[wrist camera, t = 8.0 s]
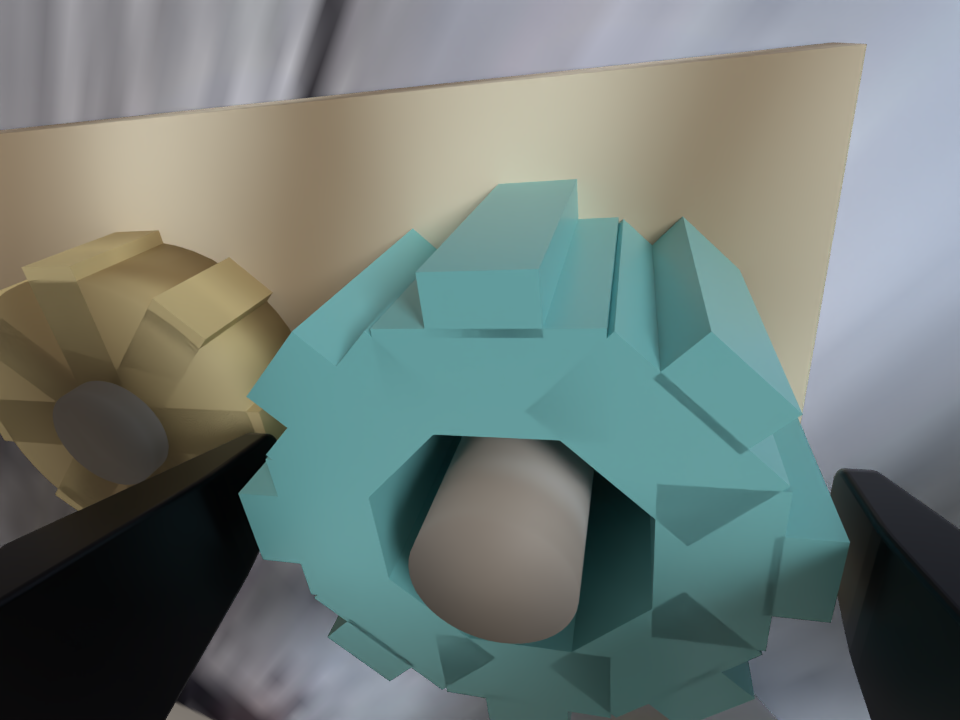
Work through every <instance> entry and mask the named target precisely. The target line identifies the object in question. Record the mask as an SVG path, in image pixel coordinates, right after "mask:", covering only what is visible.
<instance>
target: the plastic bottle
mask: <svg viewBox="0 0 960 720" xmlns="http://www.w3.org/2000/svg"><path fill="white" fill-rule="evenodd" d="M754 697H755V699H754V700H751V701H748V702H746V703H743V704H741V705H738V706H736V707H733V708H730V709H728V710H725V711H723V712H720V713H718V714H715V715H713V716H710V717H707V718H705V719H702V720H778V719H777V718H776V717H775V716H774V715H773V714H772V713H771V712H770V710H769V709H768V708H767V707H766V706H765V705H764V704H763V703H762V702H761V701H760V699H759V698H758V697H757V696H756V695H754ZM571 720H669V719H668V718H667V717H665V716H664V715H663V714H661V713H660V712H659V711H657V710H656V709H655V708H653V707H652V706H651V705H650V704H647V705H645V706H642V707H640V708H638V709H635V710H633V711H631V712H628V713H626V714H624V715H621V716H619V717H617V718H616V717H615V716H613V715H612V714H611V718H607V717H600V716H594V715H588V714H582V713H576V712H572V714H571Z"/></svg>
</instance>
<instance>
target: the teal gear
mask: <svg viewBox="0 0 960 720" xmlns="http://www.w3.org/2000/svg"><path fill="white" fill-rule="evenodd" d="M246 397H247V398H249V399H250V400H251V401H253V402H254V403H255V404H257V405H258V406H259V407H261V408H262V409H263V410H264V411H266V412H267V413H268V414H270V415H271V416H272V417H274V418H275V419H276V420H278V421H279V422H280V423H282V424H283V425H284V426H285V427H287V429H286V430H285V432H284V433H283V434H282V435H281V437H280V438H279V439H278V440H277V442H276V443H275V444H274V445H273V447H272V448H271V449H270V450H269V452H268V453H267V454H266V455H267V456H268V457H267V458H266V459H265V460H266V462H265V463H264V465H263V466H262V467H261V468H260V469H259V470H258V471H257V473H256V474H255V475H254V476H253V477H252V478H251V479H250V481H249V482H248V483H247V484H246V485H245V486H244V487H243V489H242V490H241V491H240V492H239V493H238V494H239V497H240V500H241V502H242V505H243V508H244V510H245V513H246V515H247V518H248V521H249V523H250V526H251V529H252V531H253V534H254V537H255V539H256V542H257V545H258V547H259V550H260V553H261V555H262V558H263V560H272V561H281V562H290V563H299V564H301V566H302V569H303V572H304V574H305V577H306V580H307V583H308V586H309V589H310V592H311V594H315V595H316V596H315V597H314V598H315V599H317V600H318V601H319V602H321V603H322V604H324V605H325V606H326V607H328V608H329V609H330V610H332V611H333V612H335V613H336V614H337V615H339V616H338V618H337V620H336V622H335V624H334V626H333V627H332V629H331V631H330V633H329V635H328V638H329V639H331V640H332V641H334V642H335V643H336V644H338V645H339V646H341V647H342V648H344V649H345V650H346V651H348V652H349V653H351V654H352V655H353V656H355V657H356V658H358V659H359V660H360V661H362V662H363V663H365V664H366V665H367V666H369V667H370V668H372V669H373V670H375V671H376V672H377V673H379V674H380V675H382V676H383V677H384V678H386V679H387V680H389V681H391V680H393V679H394V678H396V677H397V676H399V675H400V674H402V673H403V672H405V671H406V670H408V669H410V668H413V669H414V670H415V671H417V672H418V673H420V674H421V675H422V676H424V677H425V678H427V679H428V680H429V681H431V682H432V683H434V684H435V685H436V686H438V687H439V688H441V689H442V690H443V689H444V688H446V689H447V692H452V693H458V694H464V695H470V696H477V697H483V698H486V701H487V707H488V713H489V719H490V720H571V714H572V712H576V713H582V714H588V715H594V716H600V717H607V718H611V714H612V715H613V716H615V717H616V718H617V717H619V716H621V715H624V714H626V713H628V712H631V711H633V710H635V709H638V708H640V707H642V706H645V705H647V704H650V705H651V706H652V707H653V708H655V709H656V710H657V711H659V712H660V713H661V714H663V715H664V716H665V717H667V718H668V719H669V720H702V719H705V718H707V717H710V716H713V715H715V714H718V713H720V712H723V711H725V710H728V709H730V708H733V707H736V706H738V705H741V704H743V703H746V702H748V701H751V700H754V699H755V697H754V691H753V686H752V680H751V674H750V669H749V663H748V661H749V660H751V659H753V658H756V657H758V656H760V655H762V651H766V647H767V641H768V635H769V629H770V623H771V618H772V616H775V617H784V618H793V619H801V620H810V621H819V622H828V623H831V620H832V616H833V611H834V607H835V603H836V599H837V595H838V591H839V586H840V582H841V578H842V574H843V570H844V566H845V561H846V557H847V553H848V549H849V545H850V541H849V539H848V536H847V534H846V532H845V529H844V527H843V524H842V522H841V520H840V517H839V515H838V513H837V510H836V508H835V505H834V503H833V501H832V498H831V496H830V493H829V491H828V489H827V486H826V484H825V481H824V479H823V477H822V474H821V472H820V470H819V467H818V465H817V462H816V460H815V458H814V455H813V453H812V450H811V448H810V446H809V443H808V441H807V438H806V436H805V434H804V431H803V429H802V427H801V424H800V422H799V419H798V417H800V416H801V415H803V414H802V412H801V409H800V407H799V405H798V402H797V400H796V398H795V396H794V393H793V391H792V389H791V386H790V384H789V382H788V380H787V377H786V375H785V373H784V370H783V368H782V366H781V363H780V361H779V359H778V357H777V354H776V352H775V350H774V347H773V345H772V343H771V340H770V338H769V336H768V334H767V331H766V329H765V327H764V324H763V322H762V320H761V317H760V315H759V313H758V311H757V308H756V306H755V304H754V301H753V299H752V297H751V295H750V292H749V290H748V288H747V285H746V283H745V281H744V278H743V276H742V274H741V272H740V270H739V269H738V268H737V267H736V266H735V265H734V264H733V263H732V262H731V261H730V260H729V259H728V258H727V257H726V256H724V255H723V254H722V253H721V252H720V251H719V250H718V249H717V248H716V247H715V246H714V245H713V244H712V243H711V242H710V241H709V240H707V239H706V238H705V237H704V236H703V235H702V234H701V233H700V232H699V231H698V230H697V229H696V228H695V227H694V226H693V225H692V224H690V223H689V222H688V221H687V220H686V219H685V218H684V217H682V218H681V219H679V220H678V221H677V222H676V223H675V224H674V225H673V226H672V227H671V228H670V229H669V230H668V231H667V232H666V233H665V234H664V235H663V236H661V237H660V238H659V239H658V240H657V241H656V242H655V243H654V244H653V245H651V244H650V243H649V242H648V241H647V240H646V239H645V238H644V237H643V236H641V235H640V234H639V233H638V232H637V231H636V230H635V229H634V228H633V227H632V226H631V225H630V224H628V223H627V222H626V221H625V220H624V219H623V220H622V221H621V222H620V223H619V217H612V218H590V219H578V192H577V179H570V180H554V181H538V182H522V183H506V184H498V185H497V186H496V187H495V188H494V189H493V190H492V191H491V193H490V194H489V195H488V196H487V197H486V198H485V199H484V200H483V201H482V202H481V203H480V204H479V205H478V206H477V207H476V208H475V210H474V211H473V212H472V213H471V214H470V215H469V216H468V217H467V218H466V219H465V220H464V221H463V222H462V223H461V224H460V225H459V227H458V228H457V229H456V230H455V231H454V232H453V233H452V234H451V235H450V236H449V237H448V238H447V239H446V240H445V241H444V242H443V243H442V245H441V246H440V247H439V248H438V249H436V248H435V247H434V246H433V245H431V244H430V243H429V242H428V241H427V240H426V239H424V238H423V237H422V236H421V235H420V234H419V233H418V232H416V231H415V230H414V229H411V230H410V231H409V232H408V233H407V234H406V235H404V236H403V237H402V238H401V239H400V240H398V241H397V242H396V243H395V244H394V245H393V246H391V247H390V248H389V249H388V250H387V251H386V252H384V253H383V254H382V255H381V256H380V257H379V258H377V259H376V260H375V261H374V262H373V263H372V264H370V265H369V266H368V267H367V268H366V269H365V270H363V271H362V272H361V273H360V274H359V275H358V276H356V277H355V278H354V279H353V280H352V281H351V282H349V283H348V284H347V285H346V286H345V287H343V288H342V289H341V290H340V291H339V292H338V293H336V294H335V295H334V296H333V297H332V298H331V299H329V300H328V301H327V302H326V303H325V304H324V305H322V306H321V307H320V308H319V309H318V310H317V311H315V312H314V313H313V314H312V315H311V316H310V317H308V318H307V319H306V320H305V321H304V322H303V323H301V324H300V325H299V326H298V327H297V328H296V329H294V330H293V331H292V332H291V334H290V335H289V336H288V338H287V339H286V341H285V342H284V344H283V345H282V346H281V348H280V349H279V351H278V352H277V354H276V355H275V356H274V358H273V359H272V361H271V362H270V364H269V365H268V366H267V368H266V369H265V371H264V372H263V374H262V375H261V376H260V378H259V379H258V381H257V382H256V384H255V385H254V386H253V388H252V389H251V391H250V392H249V394H248V395H247V396H246ZM462 436H475V437H497V438H518V439H540V440H560V441H561V442H562V443H564V444H565V445H566V446H567V447H568V448H570V449H571V450H572V451H573V452H574V453H576V454H577V455H578V456H579V457H580V458H582V459H583V460H584V461H585V462H587V463H588V464H589V465H590V466H591V467H593V468H594V474H593V483H592V492H591V500H590V509H589V518H588V526H587V535H586V544H585V552H584V561H583V570H582V578H581V587H580V596H579V604H578V608H577V611H576V613H575V615H574V617H573V619H572V620H571V622H570V623H569V624H568V625H567V626H566V627H565V628H564V629H563V630H562V631H560V632H559V633H557V634H556V635H553V636H551V637H549V638H547V639H544V640H540V641H536V642H531V643H522V644H509V643H499V642H494V641H488V640H485V639H481V638H478V637H475V636H472V635H470V634H467V633H465V632H463V631H461V630H458V629H457V628H455V627H453V626H451V625H450V624H448V623H447V622H445V621H444V620H442V619H441V618H440V617H438V616H437V615H436V614H435V613H434V612H432V611H431V610H430V609H429V608H428V607H427V606H426V604H425V603H424V602H423V601H422V599H421V598H420V597H419V595H418V594H417V592H416V590H415V588H414V586H413V584H412V581H411V578H410V575H409V568H408V563H409V555H410V551H411V549H412V547H413V545H414V542H415V540H416V538H417V536H418V534H419V531H420V529H421V527H422V525H423V523H424V520H425V518H426V516H427V514H428V512H429V509H430V507H431V505H432V503H433V500H434V498H435V496H436V494H437V492H438V489H439V487H440V485H441V483H442V481H443V478H444V476H445V474H446V472H447V469H448V467H449V465H450V463H451V461H452V458H453V456H454V454H455V452H456V450H457V447H458V445H459V443H460V441H461V439H462ZM761 650H762V651H761Z"/></svg>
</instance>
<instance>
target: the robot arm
mask: <svg viewBox="0 0 960 720" xmlns="http://www.w3.org/2000/svg"><path fill="white" fill-rule="evenodd" d="M276 442H277V439H276V438H275V437H274V436H273V435H271V434H266V433H247V434H244V435H242V436H240V437H237V438H235V439H233V440H231V441H229V442H227V443H224V444H222V445H220V446H218V447H216V448H214V449H211V450H209V451H207V452H205V453H203V454H201V455H198V456H196V457H194V458H192V459H190V460H187V461H185V462H183V463H181V464H179V465H177V466H174V467H172V468H170V469H168V470H166V471H164V472H161V473H159V474H157V475H155V476H153V477H151V478H148V479H146V480H144V481H142V482H140V483H138V484H135V485H133V486H131V487H129V488H127V489H125V490H122V491H120V492H118V493H116V494H114V495H111V496H109V497H107V498H105V499H103V500H101V501H98V502H96V503H94V504H92V505H90V506H88V507H85V508H83V509H81V510H79V511H77V512H75V513H72V514H70V515H68V516H66V517H64V518H62V519H59V520H57V521H55V522H53V523H51V524H48V525H46V526H44V527H42V528H40V529H38V530H35V531H33V532H31V533H29V534H27V535H25V536H22V537H20V538H18V539H16V540H14V541H12V542H9V543H7V544H5V545H4V546H2V548H1V549H0V720H166V718H167V716H168V714H169V713H170V711H171V709H172V707H173V706H174V704H175V702H176V701H177V699H178V697H179V695H180V694H181V692H182V690H183V688H184V687H185V685H186V683H187V681H188V680H189V678H190V676H191V674H192V673H193V671H194V669H195V667H196V666H197V664H198V662H199V660H200V659H201V657H202V655H203V653H204V652H205V650H206V648H207V646H208V645H209V643H210V641H211V639H212V638H213V636H214V634H215V632H216V631H217V629H218V627H219V626H220V624H221V622H222V620H223V619H224V617H225V615H226V613H227V612H228V610H229V608H230V606H231V605H232V603H233V601H234V599H235V598H236V596H237V594H238V592H239V591H240V589H241V587H242V585H243V583H244V582H245V580H246V578H247V576H248V574H249V572H250V570H251V568H252V566H253V564H254V562H255V560H256V558H257V555H258V553H259V551H260V550H259V547H258V545H257V542H256V539H255V537H254V534H253V531H252V529H251V526H250V523H249V521H248V518H247V515H246V513H245V510H244V508H243V505H242V502H241V500H240V497H239V494H238V493H239V492H240V491H241V490H242V489H243V487H244V486H245V485H246V484H247V483H248V482H249V481H250V479H251V478H252V477H253V476H254V475H255V474H256V473H257V471H258V470H259V469H260V468H261V467H262V466H263V465H264V463H265V462H266V460H265V459H266V458H267V457H268V456H267V455H266V454H267V453H268V452H269V450H270V449H271V448H272V447H273V445H274V444H275V443H276ZM830 496H831V498H832V501H833V503H834V505H835V508H836V510H837V513H838V515H839V517H840V520H841V522H842V524H843V527H844V529H845V532H846V534H847V536H848V539H849V541H850V545H849V549H848V553H847V557H846V561H845V566H844V570H843V574H842V578H841V582H840V586H839V591H838V595H837V596H838V601H839V606H840V611H841V616H842V621H843V626H844V630H845V635H846V640H847V644H848V648H849V653H850V656H851V659H852V663H853V666H854V669H855V673H856V676H857V679H858V682H859V685H860V688H861V691H862V694H863V697H864V700H865V703H866V706H867V709H868V712H869V715H870V718H871V720H960V529H958V528H957V527H956V526H954V525H953V524H951V523H950V522H949V521H947V520H946V519H944V518H943V517H941V516H940V515H939V514H937V513H936V512H934V511H933V510H932V509H930V508H929V507H927V506H926V505H925V504H923V503H922V502H920V501H919V500H917V499H916V498H915V497H913V496H912V495H910V494H909V493H908V492H906V491H905V490H903V489H902V488H900V487H899V486H898V485H896V484H895V483H893V482H892V481H891V480H889V479H888V478H886V477H885V476H884V475H882V474H880V473H879V472H877V471H874V470H863V469H846V468H844V469H840V470H839V471H837V473H836V475H835V476H834V480H833V485H832V489H831V494H830Z"/></svg>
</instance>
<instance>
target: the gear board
mask: <svg viewBox="0 0 960 720" xmlns="http://www.w3.org/2000/svg"><path fill="white" fill-rule="evenodd" d="M866 46H867V44H855V43H824V44H815V45H805V46H796V47H786V48H777V49H767V50H758V51H748V52H739V53H730V54H720V55H711V56H701V57H692V58H682V59H673V60H663V61H654V62H644V63H635V64H625V65H616V66H606V67H597V68H587V69H578V70H568V71H559V72H549V73H540V74H530V75H521V76H511V77H502V78H492V79H483V80H473V81H464V82H455V83H445V84H436V85H426V86H417V87H407V88H398V89H388V90H379V91H369V92H360V93H350V94H341V95H331V96H322V97H312V98H303V99H293V100H284V101H274V102H265V103H255V104H246V105H236V106H227V107H217V108H208V109H199V110H189V111H180V112H170V113H161V114H151V115H142V116H132V117H123V118H113V119H104V120H94V121H85V122H75V123H66V124H56V125H47V126H37V127H28V128H18V129H9V130H0V433H1V435H2V437H3V439H4V440H5V441H14V442H15V443H16V445H17V446H18V447H19V449H20V450H21V451H22V453H23V454H24V455H25V456H26V457H27V458H28V459H29V461H30V462H31V463H32V464H33V465H34V466H35V467H36V468H37V469H38V470H39V471H40V472H41V473H42V474H43V475H44V476H45V477H46V478H47V479H48V480H49V481H50V482H51V483H52V484H53V485H54V486H55V487H57V488H58V490H57V492H56V494H55V495H56V496H58V497H59V498H61V499H62V500H63V501H65V502H66V503H68V504H69V505H70V506H72V507H73V508H75V509H76V510H78V511H79V510H81V509H83V508H85V507H88V506H90V505H92V504H94V503H96V502H98V501H101V500H103V499H105V498H107V497H109V496H111V495H114V494H116V493H118V492H120V491H122V490H125V489H127V488H129V487H131V486H133V485H135V484H138V483H140V482H142V481H144V480H146V479H148V478H151V477H153V476H155V475H157V474H159V473H161V472H164V471H166V470H168V469H170V468H172V467H174V466H177V465H179V464H181V463H183V462H185V461H187V460H190V459H192V458H194V457H196V456H198V455H201V454H203V453H205V452H207V451H209V450H211V449H214V448H216V447H218V446H220V445H222V444H224V443H227V442H229V441H231V440H233V439H235V438H237V437H240V436H242V435H244V434H247V433H266V434H271V435H273V436H274V437H275V438H276V439H277V440H278V439H279V438H280V437H281V435H282V434H283V433H284V432H285V430H286V429H287V427H285V426H284V425H283V424H282V423H280V422H279V421H278V420H276V419H275V418H274V417H272V416H271V415H270V414H268V413H267V412H266V411H264V410H263V409H262V408H261V407H259V406H258V405H257V404H255V403H254V402H253V401H251V400H250V399H249V398H247V397H246V396H247V395H248V394H249V392H250V391H251V389H252V388H253V386H254V385H255V384H256V382H257V381H258V379H259V378H260V376H261V375H262V374H263V372H264V371H265V369H266V368H267V366H268V365H269V364H270V362H271V361H272V359H273V358H274V356H275V355H276V354H277V352H278V351H279V349H280V348H281V346H282V345H283V344H284V342H285V341H286V339H287V338H288V336H289V335H290V334H291V332H292V331H293V330H294V329H296V328H297V327H298V326H299V325H300V324H301V323H303V322H304V321H305V320H306V319H307V318H308V317H310V316H311V315H312V314H313V313H314V312H315V311H317V310H318V309H319V308H320V307H321V306H322V305H324V304H325V303H326V302H327V301H328V300H329V299H331V298H332V297H333V296H334V295H335V294H336V293H338V292H339V291H340V290H341V289H342V288H343V287H345V286H346V285H347V284H348V283H349V282H351V281H352V280H353V279H354V278H355V277H356V276H358V275H359V274H360V273H361V272H362V271H363V270H365V269H366V268H367V267H368V266H369V265H370V264H372V263H373V262H374V261H375V260H376V259H377V258H379V257H380V256H381V255H382V254H383V253H384V252H386V251H387V250H388V249H389V248H390V247H391V246H393V245H394V244H395V243H396V242H397V241H398V240H400V239H401V238H402V237H403V236H404V235H406V234H407V233H408V232H409V231H410V230H411V229H414V230H415V231H416V232H418V233H419V234H420V235H421V236H422V237H423V238H424V239H426V240H427V241H428V242H429V243H430V244H431V245H433V246H434V247H435V248H436V249H438V248H439V247H440V246H441V245H442V243H443V242H444V241H445V240H446V239H447V238H448V237H449V236H450V235H451V234H452V233H453V232H454V231H455V230H456V229H457V228H458V227H459V225H460V224H461V223H462V222H463V221H464V220H465V219H466V218H467V217H468V216H469V215H470V214H471V213H472V212H473V211H474V210H475V208H476V207H477V206H478V205H479V204H480V203H481V202H482V201H483V200H484V199H485V198H486V197H487V196H488V195H489V194H490V193H491V191H492V190H493V189H494V188H495V187H496V186H497V185H498V184H506V183H522V182H538V181H554V180H570V179H577V192H578V219H590V218H612V217H619V223H620V222H621V221H622V220H623V219H624V220H625V221H626V222H627V223H628V224H630V225H631V226H632V227H633V228H634V229H635V230H636V231H637V232H638V233H639V234H640V235H641V236H643V237H644V238H645V239H646V240H647V241H648V242H649V243H650V244H651V245H653V244H654V243H655V242H656V241H657V240H658V239H659V238H660V237H661V236H663V235H664V234H665V233H666V232H667V231H668V230H669V229H670V228H671V227H672V226H673V225H674V224H675V223H676V222H677V221H678V220H679V219H681V218H682V217H684V218H685V219H686V220H687V221H688V222H689V223H690V224H692V225H693V226H694V227H695V228H696V229H697V230H698V231H699V232H700V233H701V234H702V235H703V236H704V237H705V238H706V239H707V240H709V241H710V242H711V243H712V244H713V245H714V246H715V247H716V248H717V249H718V250H719V251H720V252H721V253H722V254H723V255H724V256H726V257H727V258H728V259H729V260H730V261H731V262H732V263H733V264H734V265H735V266H736V267H737V268H738V269H739V270H740V272H741V274H742V276H743V278H744V281H745V283H746V285H747V288H748V290H749V292H750V295H751V297H752V299H753V301H754V304H755V306H756V308H757V311H758V313H759V315H760V317H761V320H762V322H763V324H764V327H765V329H766V331H767V334H768V336H769V338H770V340H771V343H772V345H773V347H774V350H775V352H776V354H777V357H778V359H779V361H780V363H781V366H782V368H783V370H784V373H785V375H786V377H787V380H788V382H789V384H790V386H791V389H792V391H793V393H794V396H795V398H796V400H797V402H798V405H799V407H800V409H801V412H803V407H804V401H805V395H806V389H807V384H808V378H809V372H810V366H811V361H812V355H813V349H814V344H815V338H816V332H817V326H818V321H819V315H820V309H821V303H822V298H823V292H824V286H825V281H826V275H827V269H828V263H829V258H830V252H831V246H832V240H833V235H834V229H835V223H836V217H837V212H838V206H839V200H840V195H841V189H842V183H843V177H844V172H845V166H846V160H847V154H848V149H849V143H850V137H851V132H852V126H853V120H854V114H855V109H856V103H857V97H858V91H859V86H860V80H861V74H862V69H863V63H864V57H865V51H866ZM801 418H802V415H801V416H800V417H798V419H799V422H800V424H801ZM593 474H594V468H593V467H591V466H590V465H589V464H588V463H587V462H585V461H584V460H583V459H582V458H580V457H579V456H578V455H577V454H576V453H574V452H573V451H572V450H571V449H570V448H568V447H567V446H566V445H565V444H564V443H562V442H561V441H560V440H540V439H518V438H497V437H475V436H462V439H461V441H460V443H459V445H458V447H457V450H456V452H455V454H454V456H453V458H452V461H451V463H450V465H449V467H448V469H447V472H446V474H445V476H444V478H443V481H442V483H441V485H440V487H439V489H438V492H437V494H436V496H435V498H434V500H433V503H432V505H431V507H430V509H429V512H428V514H427V516H426V518H425V520H424V523H423V525H422V527H421V529H420V531H419V534H418V536H417V538H416V540H415V542H414V545H413V547H412V549H411V551H410V555H409V563H408V568H409V575H410V578H411V581H412V584H413V586H414V588H415V590H416V592H417V594H418V595H419V597H420V598H421V599H422V601H423V602H424V603H425V604H426V606H427V607H428V608H429V609H430V610H431V611H432V612H434V613H435V614H436V615H437V616H438V617H440V618H441V619H442V620H444V621H445V622H447V623H448V624H450V625H451V626H453V627H455V628H457V629H458V630H461V631H463V632H465V633H467V634H470V635H472V636H475V637H478V638H481V639H485V640H488V641H494V642H499V643H509V644H522V643H531V642H536V641H540V640H544V639H547V638H549V637H551V636H553V635H556V634H557V633H559V632H560V631H562V630H563V629H564V628H565V627H566V626H567V625H568V624H569V623H570V622H571V620H572V619H573V617H574V615H575V613H576V611H577V608H578V604H579V596H580V587H581V578H582V570H583V561H584V552H585V544H586V535H587V526H588V518H589V509H590V500H591V492H592V483H593Z"/></svg>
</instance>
